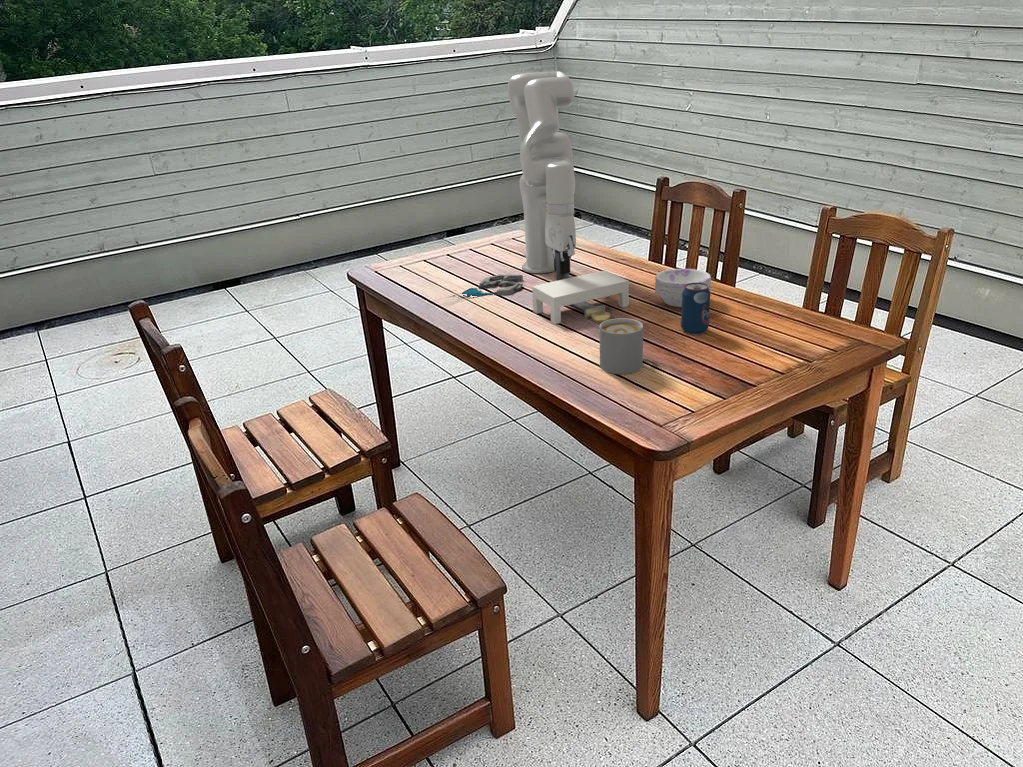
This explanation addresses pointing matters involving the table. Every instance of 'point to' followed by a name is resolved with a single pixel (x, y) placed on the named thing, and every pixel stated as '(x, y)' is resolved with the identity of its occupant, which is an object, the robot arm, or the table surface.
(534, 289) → the low stand
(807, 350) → the table surface
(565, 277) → the blade tool
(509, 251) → the table surface
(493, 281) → the weapon
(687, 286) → the soda can
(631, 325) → the coffee mug
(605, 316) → the brass puck
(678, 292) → the paper bowls
